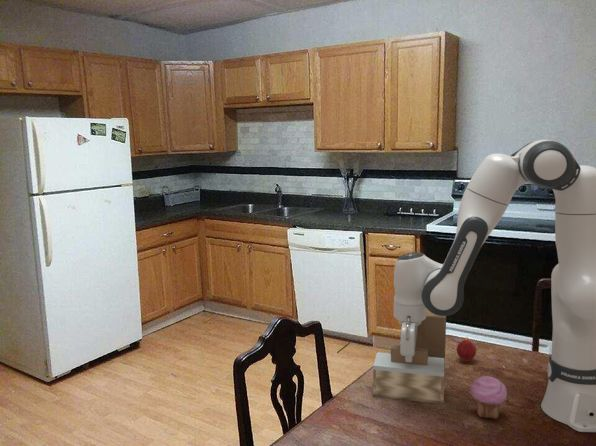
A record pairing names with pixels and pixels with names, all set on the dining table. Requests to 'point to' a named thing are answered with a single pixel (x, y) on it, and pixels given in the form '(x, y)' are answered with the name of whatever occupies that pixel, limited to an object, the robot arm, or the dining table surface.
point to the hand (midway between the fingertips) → (409, 357)
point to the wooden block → (432, 335)
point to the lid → (417, 366)
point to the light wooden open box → (408, 386)
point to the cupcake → (488, 396)
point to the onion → (466, 350)
